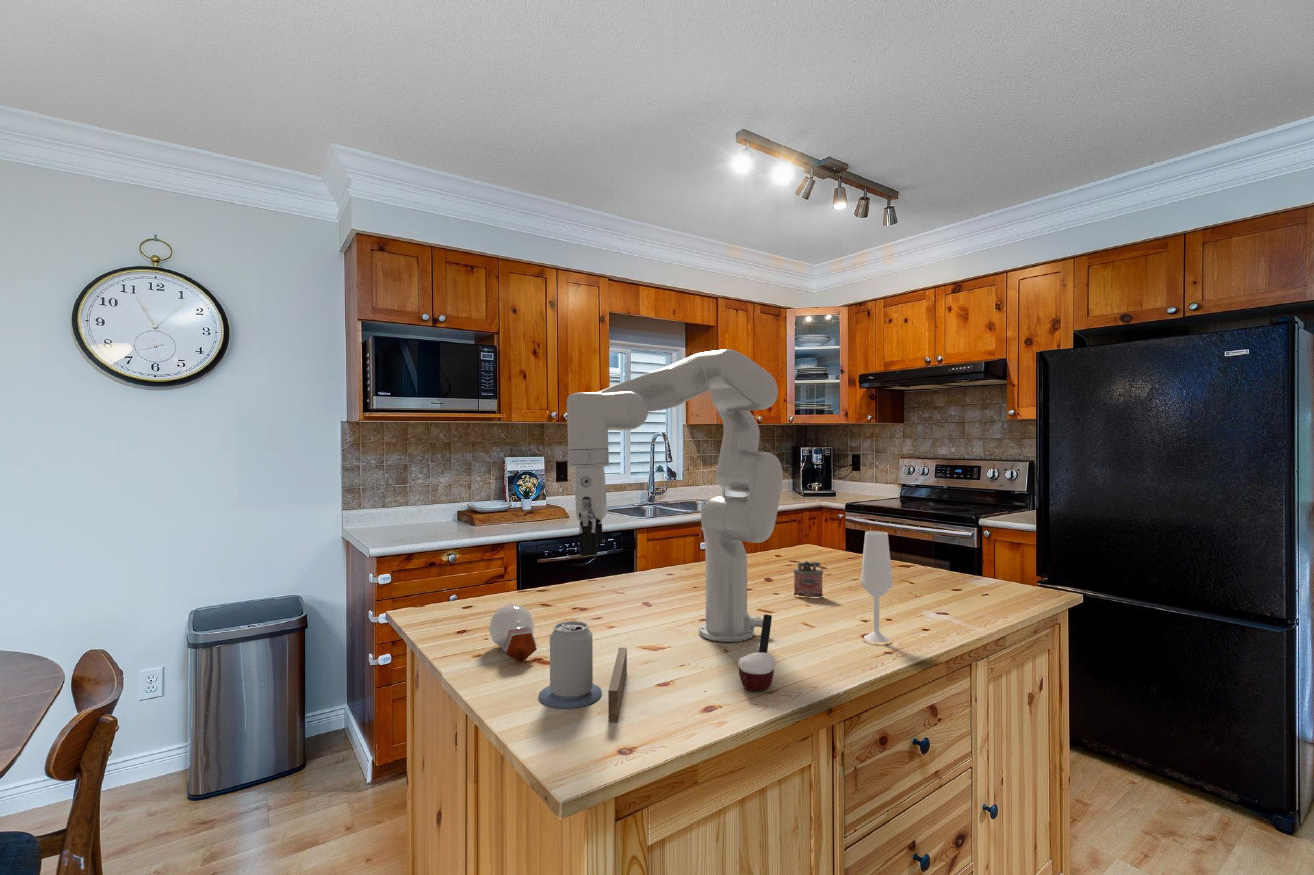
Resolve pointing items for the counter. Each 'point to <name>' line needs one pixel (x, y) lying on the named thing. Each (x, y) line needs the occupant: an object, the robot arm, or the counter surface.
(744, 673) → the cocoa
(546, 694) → the mat
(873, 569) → the champagne flute
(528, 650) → the potion bottle
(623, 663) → the low wall
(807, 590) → the lighter
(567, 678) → the can
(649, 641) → the counter surface
